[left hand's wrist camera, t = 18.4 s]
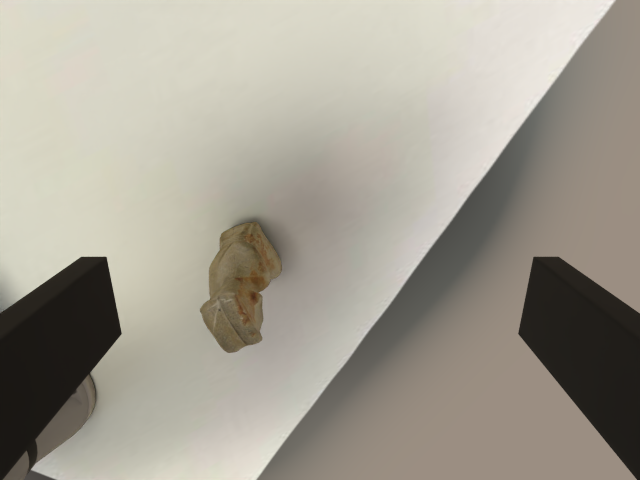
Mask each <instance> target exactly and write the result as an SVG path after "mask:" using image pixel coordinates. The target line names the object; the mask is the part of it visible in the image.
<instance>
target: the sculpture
mask: <svg viewBox="0 0 640 480" xmlns="http://www.w3.org/2000/svg"><path fill="white" fill-rule="evenodd" d="M281 270H282V265H281V261H280V258H279V256H278V255H277V253H276V251H275V250H274V248H273V247H272V245H271V244H270V242H269V241H268V240H267V238H266V237H265V235H264V234H263V232H262V230H261V227H260V225H259V224H258V223H257V222H252V223H244V224H241V225H238V226H236V227H233V228H231V229H229V230H227V231H225V232H223V233H222V234H221V237H220V251H219V252H218V254H217V255H216V257H215V258H214V260H213V262H212V263H211V265H210V268H209V291H210V300H209V301H207V302H206V303H204V304H203V306H202V307H201V309H200V312H201V314H202V317H203V320H204V322H205V324H206V326H207V328H208V329H209V331H210V332H211V333H212V335H213V336H214V337H215V339H216V340H217V342H218V343H219V345H220V347H221V348H222V349H223V350H225V351H226V352H227V353H232V352H237V351H238V350H240V349H241V348H243V347H245V346H248V345H253V344H256V343H259V342H260V341H262V336H261V334H260V329H261V324H262V322H263V312H262V295H261V294H259V292H260V291H262V290H264V289H265V288H266V287H267V286H268V285H269V283H270V280H271V279H274V278H276V277H278V276H279V275H280V273H281Z"/></svg>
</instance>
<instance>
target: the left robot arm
mask: <svg viewBox="0 0 640 480" xmlns="http://www.w3.org/2000/svg"><path fill="white" fill-rule="evenodd" d="M121 334H122V333H121V328H120V323H119V318H118V313H117V308H116V303H115V298H114V293H113V288H112V283H111V278H110V272H109V267H108V262H107V257H81V258H79V259H78V260H76V261H75V262H73V263H72V264H71V265H69V266H68V267H66V268H65V269H63V270H62V271H61V272H59V273H58V274H56V275H55V276H53V277H52V278H50V279H49V280H48V281H46V282H45V283H43V284H42V285H40V286H39V287H38V288H36V289H35V290H33V291H32V292H30V293H29V294H28V295H26V296H25V297H23V298H22V299H20V300H19V301H18V302H16V303H15V304H13V305H12V306H10V307H9V308H8V309H6V310H5V311H3V312H2V313H0V480H23V479H24V478H25V476H26V475H27V474H28V472H29V471H30V470H31V468H32V467H33V466H34V465H35V463H37V462H38V461H39V460H41V459H42V458H43V457H45V456H46V455H47V454H49V453H50V452H51V451H53V450H54V449H55V448H57V447H58V446H59V445H61V444H62V443H64V442H65V441H66V440H68V439H69V438H70V437H72V436H73V435H74V434H75V433H76V432H77V431H78V430H79V429H80V428H81V427H82V426H83V425H84V423H85V422H86V420H87V419H88V418H89V416H90V415H91V413H92V411H93V408H94V405H95V388H94V384H93V382H92V379H91V377H90V375H89V373H90V372H91V371H92V370H93V368H94V367H95V366H96V365H97V363H98V362H99V361H100V360H101V359H102V357H103V356H104V355H105V354H106V352H107V351H108V350H109V349H110V348H111V346H112V345H113V344H114V343H115V341H116V340H117V339H118V338H119V336H120V335H121ZM518 334H519V335H520V336H521V338H522V339H523V340H524V341H525V343H526V344H527V345H528V346H529V347H530V349H531V350H532V351H533V352H534V354H535V355H536V356H537V357H538V359H539V360H540V361H541V362H542V363H543V365H544V366H545V367H546V368H547V370H548V371H549V372H550V373H551V374H552V376H553V377H554V378H555V379H556V381H557V382H558V383H559V384H560V386H561V387H562V388H563V389H564V390H565V392H566V393H567V394H568V395H569V397H570V398H571V399H572V400H573V402H574V403H575V404H576V405H577V406H578V408H579V409H580V410H581V411H582V413H583V414H584V415H585V416H586V417H587V419H588V420H589V421H590V422H591V424H592V425H593V426H594V427H595V429H596V430H597V431H598V432H599V433H600V435H601V436H602V437H603V438H604V440H605V441H606V442H607V443H608V444H609V446H610V447H611V448H612V449H613V451H614V452H615V453H616V454H617V456H618V457H619V458H620V459H621V460H622V462H623V463H624V464H625V465H626V467H627V468H628V469H629V470H630V472H631V473H632V474H633V475H634V476H635V478H636V479H637V480H640V313H638V312H637V311H635V310H634V309H632V308H631V307H630V306H628V305H627V304H625V303H624V302H622V301H621V300H620V299H618V298H617V297H615V296H614V295H612V294H611V293H610V292H608V291H607V290H605V289H604V288H602V287H601V286H600V285H598V284H597V283H595V282H594V281H592V280H591V279H590V278H588V277H587V276H585V275H584V274H582V273H581V272H579V271H578V270H577V269H575V268H574V267H572V266H571V265H569V264H568V263H567V262H565V261H564V260H562V259H561V258H559V257H534V258H533V263H532V267H531V272H530V278H529V283H528V288H527V293H526V298H525V303H524V308H523V313H522V318H521V323H520V328H519V333H518Z"/></svg>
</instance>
